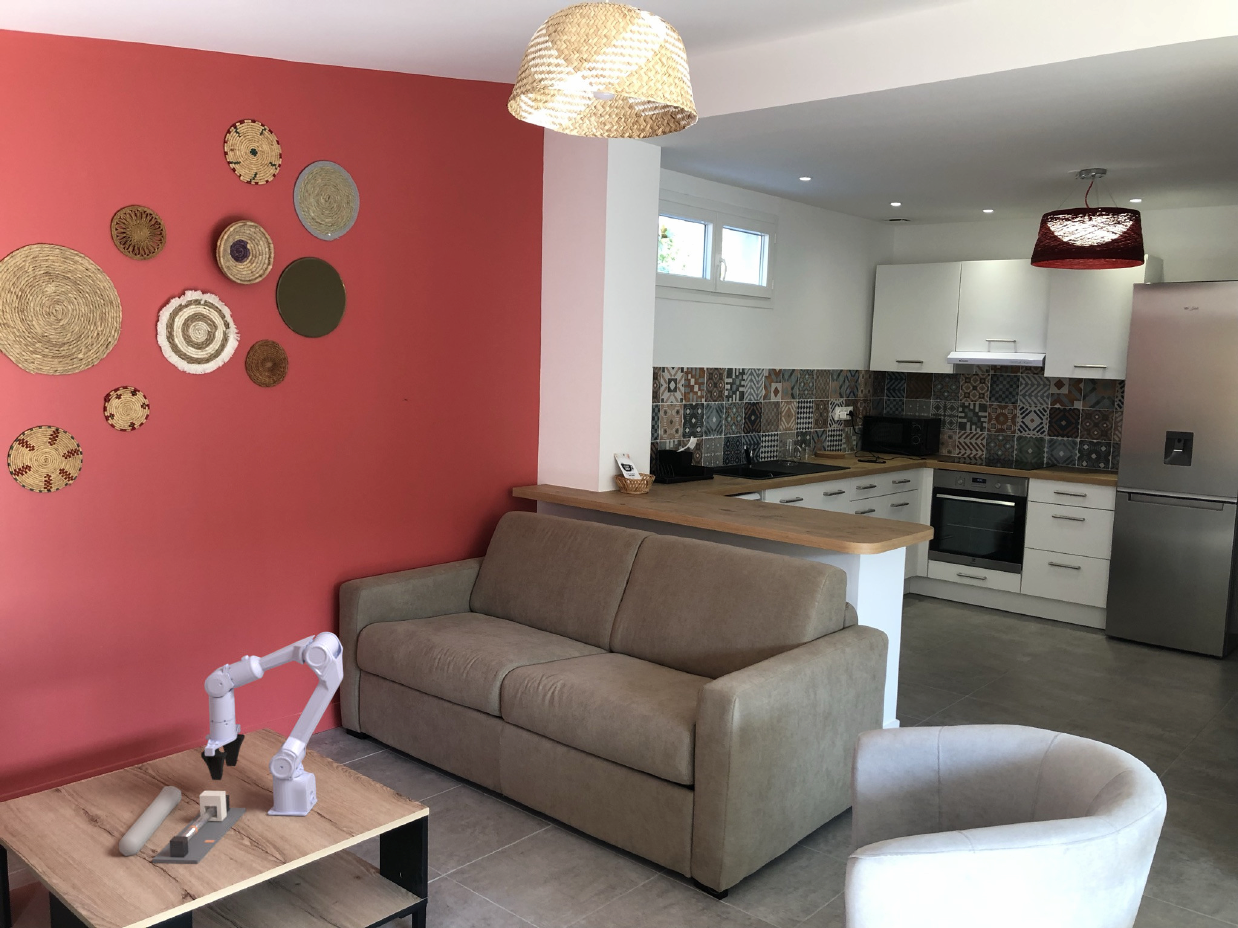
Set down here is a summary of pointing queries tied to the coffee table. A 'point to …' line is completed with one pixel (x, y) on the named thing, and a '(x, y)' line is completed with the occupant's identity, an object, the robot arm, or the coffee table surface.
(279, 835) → the coffee table surface
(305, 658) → the robot arm
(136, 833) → the tube
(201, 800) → the collar
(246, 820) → the coffee table surface
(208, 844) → the rod board
